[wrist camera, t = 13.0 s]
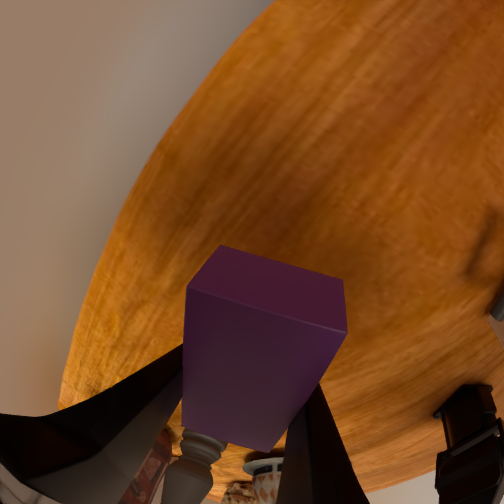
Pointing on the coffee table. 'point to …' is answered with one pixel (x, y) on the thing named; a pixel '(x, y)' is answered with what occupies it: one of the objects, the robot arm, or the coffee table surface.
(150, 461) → the pottery
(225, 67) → the coffee table surface
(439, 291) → the coffee table surface
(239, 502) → the mineral formation
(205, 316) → the purple box
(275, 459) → the patterned domed piece
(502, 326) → the drawer
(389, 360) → the coffee table surface
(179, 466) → the candle holder
